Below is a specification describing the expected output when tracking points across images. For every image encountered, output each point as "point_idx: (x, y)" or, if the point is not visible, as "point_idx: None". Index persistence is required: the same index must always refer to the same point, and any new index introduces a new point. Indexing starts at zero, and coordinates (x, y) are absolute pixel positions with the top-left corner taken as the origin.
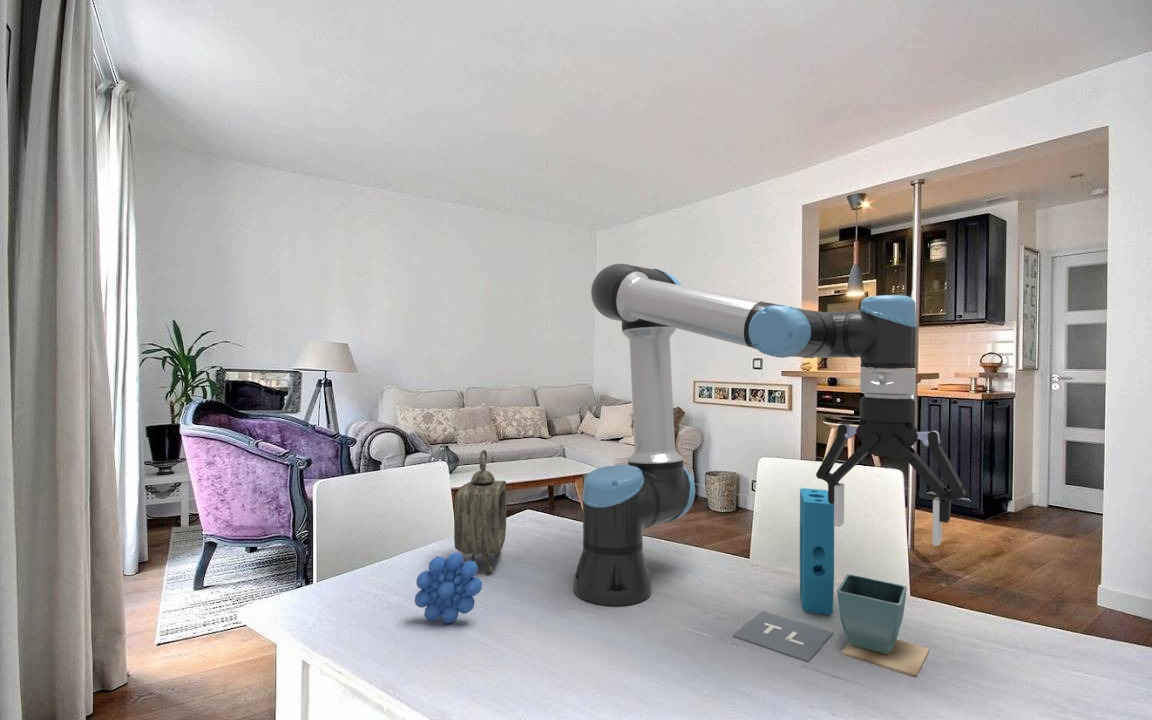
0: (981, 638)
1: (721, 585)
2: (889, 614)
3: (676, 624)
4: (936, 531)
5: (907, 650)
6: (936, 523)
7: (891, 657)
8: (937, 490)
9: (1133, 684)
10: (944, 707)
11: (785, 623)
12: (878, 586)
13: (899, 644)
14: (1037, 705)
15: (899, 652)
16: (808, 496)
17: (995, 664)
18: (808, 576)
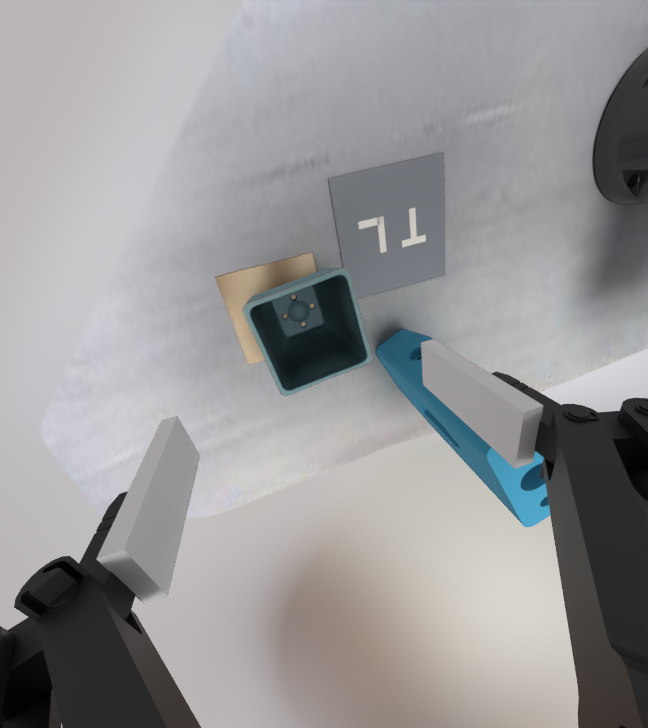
0: (231, 444)
1: (519, 302)
2: (259, 296)
3: (524, 105)
4: (154, 447)
5: None
6: (145, 467)
7: None
8: (81, 622)
9: (81, 478)
10: (144, 225)
11: (405, 266)
12: (320, 373)
13: None
14: (94, 341)
15: None
16: None
17: (184, 398)
18: (425, 338)
